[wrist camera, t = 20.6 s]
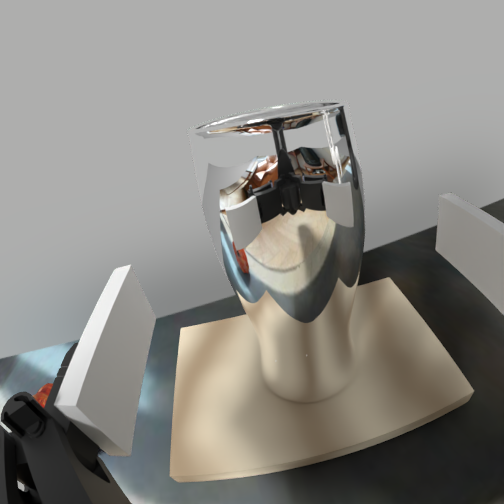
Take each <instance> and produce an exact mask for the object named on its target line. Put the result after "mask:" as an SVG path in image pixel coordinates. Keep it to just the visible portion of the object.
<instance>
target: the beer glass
mask: <svg viewBox="0 0 504 504" xmlns="http://www.w3.org/2000/svg"><path fill="white" fill-rule="evenodd" d="M187 134H188V137H189V142H190V147H191V152H192V158H193V164H194V170H195V175H196V181H197V185H198V190H199V195H200V200H201V204H202V208H203V212H204V216H205V220H206V224H207V227H208V230H209V233H210V236H211V239H212V242H213V245H214V248H215V251H216V254H217V256H218V258H219V261H220V263H221V265H222V267H223V270H224V272H225V274H226V276H227V278H228V280H229V282H230V284H231V286H232V288H233V290H234V292H235V294H236V295H237V297H238V299H239V301H240V303H241V305H242V306H243V308H244V310H245V312H246V314H247V315H248V317H249V319H250V321H251V323H252V325H253V327H254V329H255V331H256V333H257V336H258V339H259V343H260V349H261V372H262V376H263V379H264V382H265V383H266V385H267V386H268V388H269V389H270V390H271V391H272V392H273V393H274V394H276V395H277V396H279V397H281V398H283V399H285V400H288V401H292V402H297V403H312V402H318V401H322V400H325V399H327V398H330V397H332V396H333V395H335V394H337V393H338V392H340V391H341V390H342V389H343V388H344V387H345V386H346V385H347V384H348V383H349V381H350V380H351V378H352V376H353V374H354V371H355V368H356V354H355V349H354V345H353V341H352V337H351V327H350V324H351V314H352V309H353V304H354V299H355V294H356V290H357V285H358V280H359V274H360V269H361V263H362V257H363V247H364V238H365V197H364V188H363V178H362V170H361V164H360V158H359V153H358V147H357V143H356V138H355V133H354V129H353V124H352V120H351V115H350V110H349V103H348V102H347V101H344V100H323V101H309V102H300V103H292V104H285V105H278V106H272V107H266V108H261V109H256V110H250V111H246V112H241V113H237V114H233V115H229V116H225V117H221V118H217V119H214V120H210V121H208V122H204V123H201V124H198V125H196V126H194V127H191V128H189V129H188V130H187Z"/></svg>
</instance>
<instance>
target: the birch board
mask: <svg viewBox="0 0 504 504" xmlns="http://www.w3.org/2000/svg"><path fill="white" fill-rule="evenodd" d="M350 327H351V337H352V341H353V345H354V349H355V354H356V368H355V371H354V374H353V376H352V378H351V380H350V381H349V383H348V384H347V385H346V386H345V387H344V388H343V389H342V390H341V391H340V392H338V393H337V394H335V395H333V396H332V397H330V398H327V399H325V400H322V401H318V402H312V403H297V402H292V401H288V400H285V399H283V398H281V397H279V396H277V395H276V394H274V393H273V392H272V391H271V390H270V389H269V388H268V386H267V385H266V383H265V382H264V379H263V376H262V372H261V349H260V343H259V339H258V336H257V333H256V331H255V329H254V327H253V325H252V323H251V321H250V319H249V317H248V315H242V316H238V317H233V318H229V319H224V320H219V321H214V322H210V323H205V324H200V325H195V326H190V327H185V328H181V332H180V341H179V350H178V360H177V371H176V382H175V393H174V406H173V421H172V437H171V457H170V476H171V477H172V478H173V479H174V480H176V481H177V482H197V481H212V480H223V479H232V478H240V477H248V476H255V475H261V474H267V473H273V472H278V471H283V470H288V469H293V468H297V467H302V466H306V465H310V464H314V463H318V462H322V461H326V460H329V459H333V458H336V457H340V456H343V455H346V454H349V453H353V452H356V451H359V450H362V449H365V448H367V447H370V446H373V445H376V444H379V443H381V442H384V441H386V440H389V439H392V438H394V437H397V436H399V435H401V434H404V433H406V432H408V431H411V430H413V429H415V428H417V427H420V426H422V425H424V424H426V423H428V422H430V421H432V420H434V419H436V418H438V417H440V416H442V415H444V414H446V413H448V412H450V411H452V410H454V409H456V408H458V407H459V406H461V405H463V404H465V403H466V402H468V401H469V399H470V398H471V396H472V394H473V392H474V390H473V388H472V387H471V385H470V384H469V382H468V381H467V379H466V378H465V376H464V375H463V373H462V372H461V371H460V369H459V368H458V366H457V365H456V363H455V362H454V361H453V359H452V358H451V356H450V355H449V353H448V352H447V351H446V349H445V348H444V347H443V345H442V344H441V342H440V341H439V340H438V338H437V337H436V336H435V334H434V333H433V332H432V330H431V329H430V328H429V326H428V325H427V324H426V323H425V321H424V320H423V319H422V317H421V316H420V315H419V314H418V312H417V311H416V310H415V308H414V307H413V306H412V305H411V303H410V302H409V301H408V300H407V298H406V297H405V296H404V295H403V293H402V292H401V291H400V290H399V289H398V287H397V286H396V285H395V284H394V283H393V281H392V280H391V279H390V278H389V277H388V278H385V279H381V280H378V281H374V282H371V283H368V284H364V285H361V286H357V290H356V294H355V299H354V304H353V309H352V314H351V324H350Z"/></svg>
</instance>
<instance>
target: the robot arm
mask: <svg viewBox="0 0 504 504" xmlns="http://www.w3.org/2000/svg"><path fill="white" fill-rule="evenodd" d="M435 250H436V251H437V252H438V253H439V254H441V255H442V256H443V257H444V258H445V259H446V260H447V261H448V262H450V263H451V264H452V265H453V266H454V267H455V268H456V269H457V270H458V271H460V272H461V273H462V274H463V275H464V276H465V277H466V278H467V279H468V280H469V281H470V282H471V283H472V284H473V285H474V286H475V287H476V288H477V289H478V290H480V291H481V292H482V293H483V294H484V295H485V296H486V297H487V298H488V299H489V300H490V301H491V302H492V303H493V305H494V306H495V307H496V308H497V309H498V310H499V311H500V312H501V313H502V314H503V315H504V223H502V222H500V221H499V220H497V219H496V218H494V217H493V216H491V215H489V214H488V213H486V212H484V211H483V210H481V209H479V208H478V207H476V206H474V205H472V204H471V203H469V202H467V201H466V200H464V199H462V198H460V197H458V196H457V195H455V194H453V193H446V194H441V195H439V208H438V225H437V238H436V249H435ZM155 320H156V317H155V315H154V313H153V311H152V309H151V307H150V305H149V302H148V300H147V298H146V296H145V294H144V292H143V290H142V288H141V285H140V283H139V281H138V279H137V276H136V274H135V272H134V270H133V267H132V265H128V266H124V267H120V268H116V269H115V270H114V271H113V273H112V275H111V277H110V279H109V281H108V283H107V285H106V287H105V289H104V291H103V293H102V295H101V297H100V299H99V301H98V303H97V305H96V307H95V309H94V311H93V313H92V315H91V317H90V319H89V322H88V324H87V326H86V328H85V330H84V332H83V335H82V337H81V339H80V341H79V343H75V344H74V345H73V346H72V347H71V348H70V350H69V351H68V352H67V353H66V355H65V357H64V359H63V362H62V364H61V368H60V369H59V371H58V373H57V377H56V378H55V381H54V383H53V386H52V388H51V391H50V393H49V396H48V398H47V401H46V404H45V406H44V408H43V407H42V406H41V405H40V404H39V403H38V402H37V401H36V400H35V399H34V397H33V396H32V395H31V394H29V393H27V392H19V393H17V394H15V395H13V396H12V397H11V398H10V399H9V400H8V401H7V403H6V404H5V406H4V407H3V410H2V413H1V422H3V423H4V424H5V425H6V426H7V427H8V428H9V429H10V430H11V431H12V432H11V433H8V432H7V431H6V430H5V429H4V428H3V427H2V426H1V425H0V504H131V502H130V501H129V500H128V498H127V497H126V496H125V494H124V493H123V491H122V490H121V488H120V487H119V486H118V484H117V483H116V481H115V480H114V478H113V477H112V475H111V473H110V472H109V470H108V469H107V467H106V466H105V464H104V462H103V461H102V460H101V459H100V458H99V457H98V456H97V454H98V449H99V447H100V448H101V449H102V450H103V451H104V452H106V453H107V454H108V455H109V456H131V449H132V441H133V435H134V428H135V422H136V416H137V410H138V404H139V398H140V392H141V387H142V382H143V377H144V371H145V366H146V361H147V357H148V352H149V347H150V343H151V338H152V333H153V329H154V325H155ZM17 480H18V481H19V482H21V483H22V484H24V487H25V490H24V491H22V490H20V489H19V488H18V483H17Z"/></svg>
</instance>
